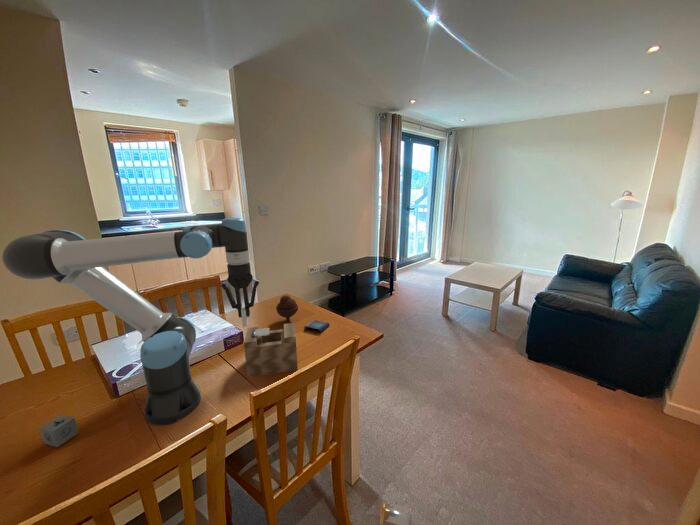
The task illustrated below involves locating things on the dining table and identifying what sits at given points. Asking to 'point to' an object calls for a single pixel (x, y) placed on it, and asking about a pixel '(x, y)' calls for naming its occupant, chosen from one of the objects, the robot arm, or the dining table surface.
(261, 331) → the clip tab
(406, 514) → the pin
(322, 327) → the blue flat box
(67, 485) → the dining table surface
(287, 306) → the ice cream bowl
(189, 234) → the robot arm
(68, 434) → the grey toy block
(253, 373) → the hitch block
